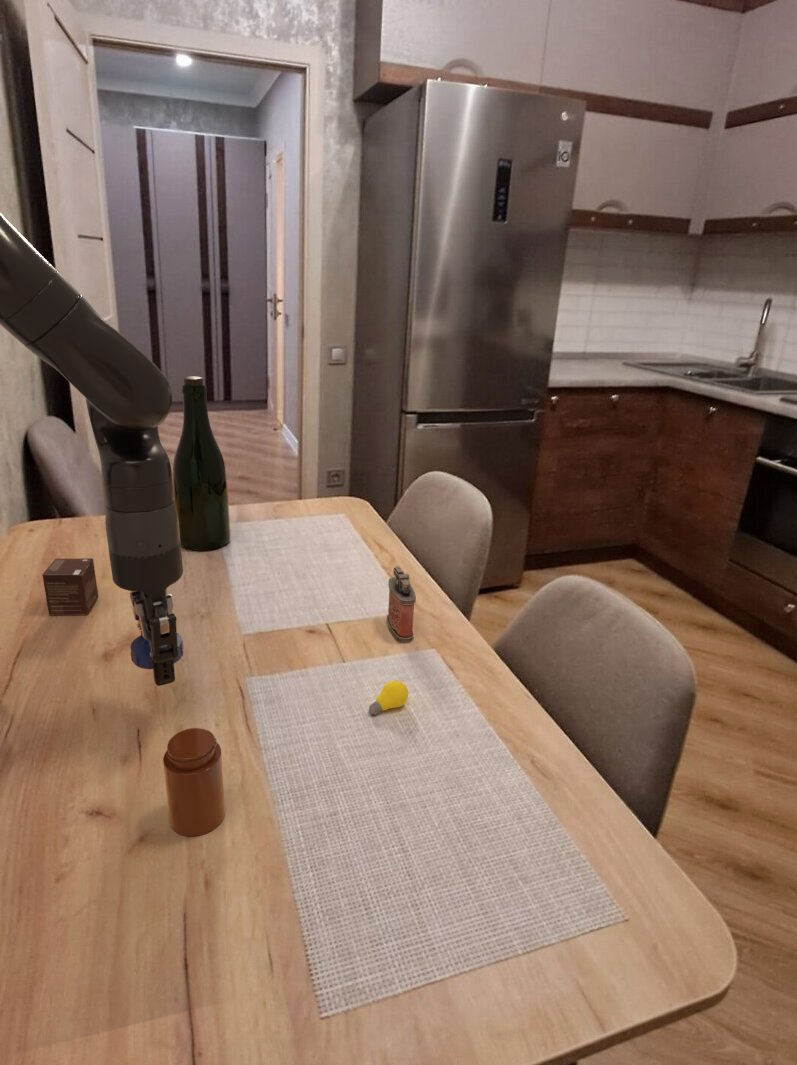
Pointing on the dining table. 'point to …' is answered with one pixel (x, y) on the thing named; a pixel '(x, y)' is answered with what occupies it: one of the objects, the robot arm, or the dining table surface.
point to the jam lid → (142, 652)
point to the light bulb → (390, 697)
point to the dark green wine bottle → (200, 476)
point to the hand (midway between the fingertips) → (159, 668)
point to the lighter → (401, 606)
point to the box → (70, 586)
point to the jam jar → (194, 782)
